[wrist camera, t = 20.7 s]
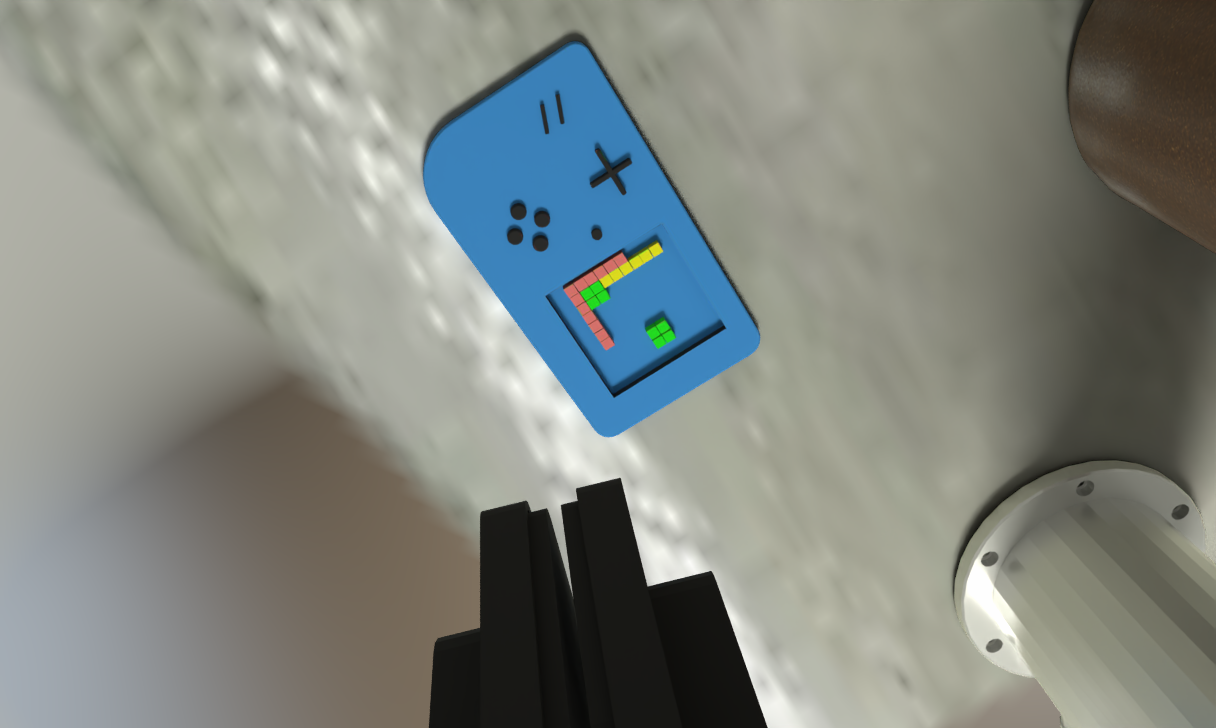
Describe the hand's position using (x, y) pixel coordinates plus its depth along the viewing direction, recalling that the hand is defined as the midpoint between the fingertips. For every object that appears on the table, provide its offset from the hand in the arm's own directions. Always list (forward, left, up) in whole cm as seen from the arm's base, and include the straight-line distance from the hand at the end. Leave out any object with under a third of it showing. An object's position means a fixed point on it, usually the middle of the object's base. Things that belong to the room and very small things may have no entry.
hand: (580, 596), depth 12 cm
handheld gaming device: (-6, -2, -30) cm, 30 cm away
